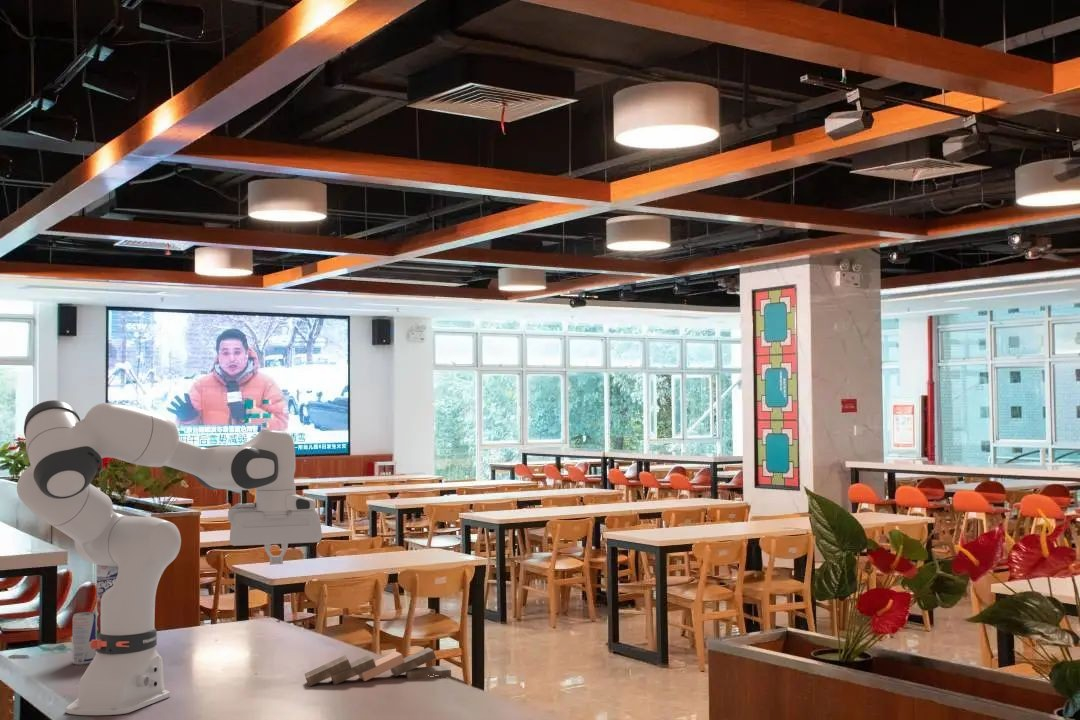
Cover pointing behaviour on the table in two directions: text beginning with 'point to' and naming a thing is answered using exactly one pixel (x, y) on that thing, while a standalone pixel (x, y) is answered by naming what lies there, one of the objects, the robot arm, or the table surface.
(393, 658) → the domino
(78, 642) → the energy drink
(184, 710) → the table surface
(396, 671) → the domino
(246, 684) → the table surface
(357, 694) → the table surface
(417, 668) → the domino
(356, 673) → the domino
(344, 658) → the domino
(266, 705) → the table surface
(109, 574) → the juice carton
